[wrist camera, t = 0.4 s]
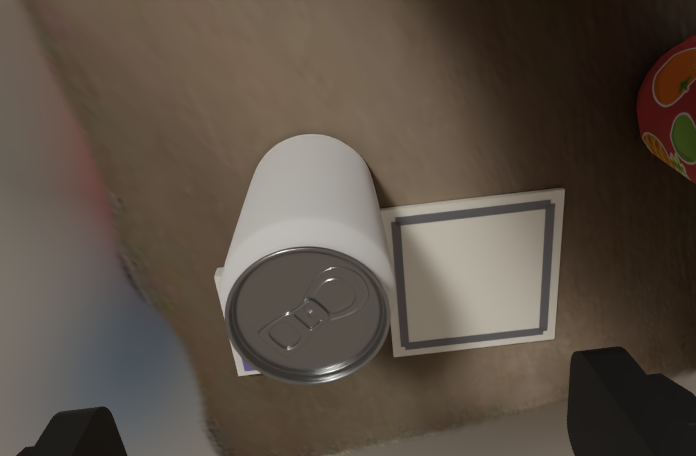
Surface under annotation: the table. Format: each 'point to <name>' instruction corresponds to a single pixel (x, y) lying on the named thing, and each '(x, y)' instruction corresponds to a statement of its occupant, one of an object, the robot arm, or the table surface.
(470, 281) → the card
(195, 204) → the table surface
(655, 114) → the smoothie
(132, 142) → the table surface
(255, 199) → the can
